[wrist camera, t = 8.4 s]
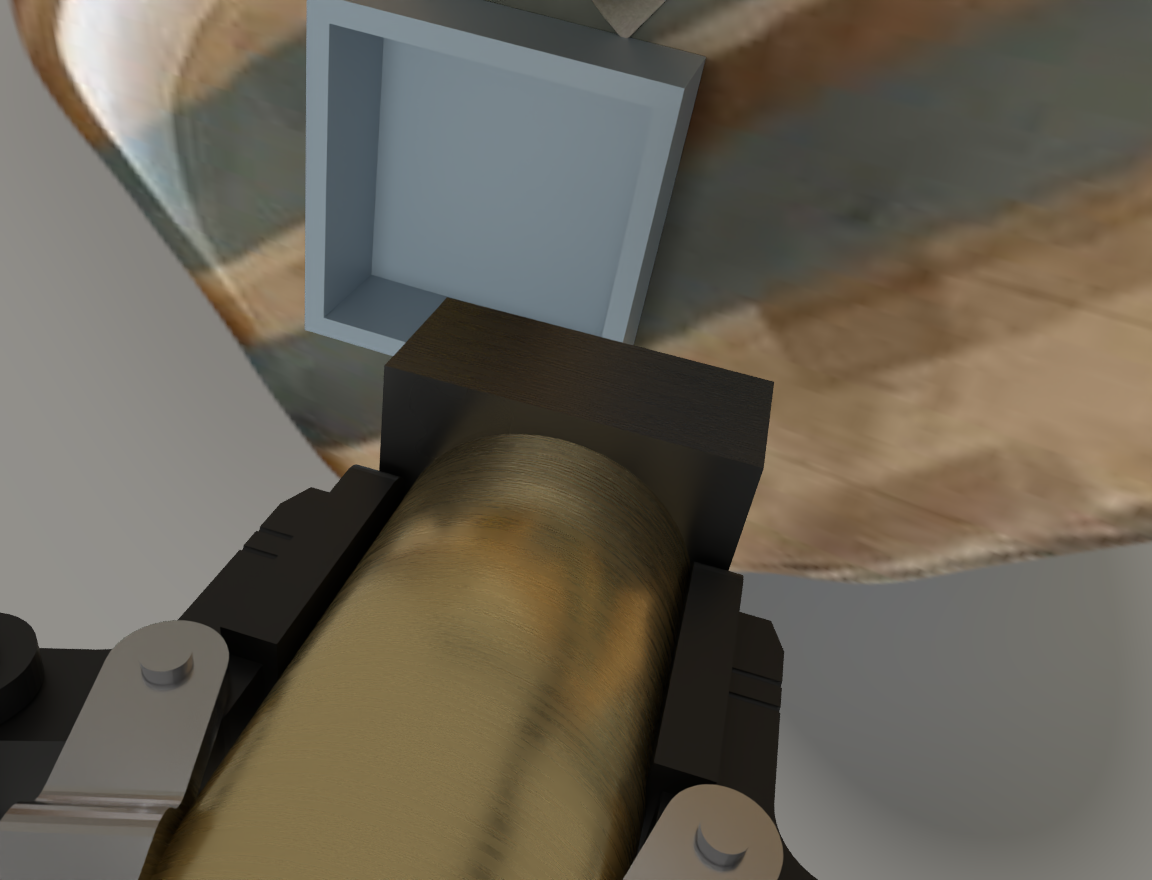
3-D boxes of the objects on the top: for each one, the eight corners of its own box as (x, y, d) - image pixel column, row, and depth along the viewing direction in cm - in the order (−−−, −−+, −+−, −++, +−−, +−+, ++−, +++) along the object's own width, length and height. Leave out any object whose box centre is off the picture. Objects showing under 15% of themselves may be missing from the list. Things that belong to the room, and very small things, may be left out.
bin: (373, -28, 33) (306, -9, 29) (706, 56, 32) (684, 88, 28) (359, 280, 41) (304, 329, 37) (630, 359, 39) (604, 419, 35)
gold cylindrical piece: (446, 296, 14) (-87, 880, 6) (774, 382, 14) (680, 1158, 5) (424, 546, 17) (43, 1174, 9) (693, 625, 17) (552, 1373, 8)
